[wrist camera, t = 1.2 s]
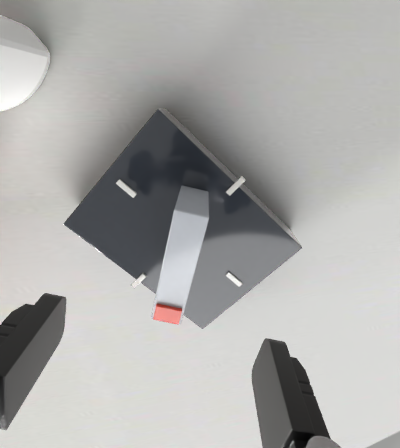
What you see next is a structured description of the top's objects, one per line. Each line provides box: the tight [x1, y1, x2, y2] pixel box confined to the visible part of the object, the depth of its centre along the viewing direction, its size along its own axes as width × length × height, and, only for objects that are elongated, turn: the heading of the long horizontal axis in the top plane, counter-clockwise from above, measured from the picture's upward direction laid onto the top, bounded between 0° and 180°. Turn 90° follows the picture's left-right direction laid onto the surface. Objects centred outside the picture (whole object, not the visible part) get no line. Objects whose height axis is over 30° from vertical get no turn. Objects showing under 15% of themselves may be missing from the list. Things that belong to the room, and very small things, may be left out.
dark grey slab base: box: [64, 108, 302, 329], centre depth 21 cm, size 13×11×3 cm
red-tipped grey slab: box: [151, 185, 209, 324], centre depth 18 cm, size 7×2×5 cm, turn 167°
